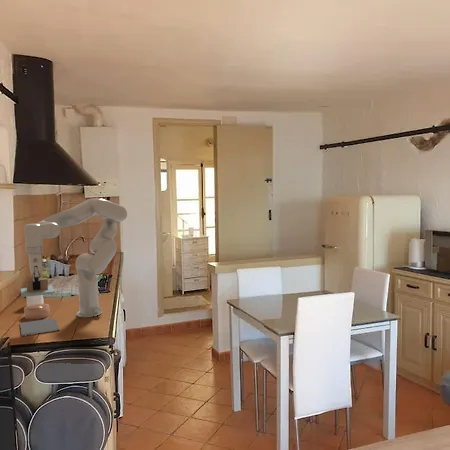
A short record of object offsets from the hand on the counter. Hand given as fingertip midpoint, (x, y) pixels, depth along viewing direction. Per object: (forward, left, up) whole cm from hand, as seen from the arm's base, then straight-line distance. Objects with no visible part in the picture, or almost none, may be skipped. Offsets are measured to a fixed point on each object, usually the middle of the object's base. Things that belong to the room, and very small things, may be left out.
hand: (36, 288), depth 212 cm
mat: (0, 0, -19) cm, 19 cm away
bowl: (+17, -10, -19) cm, 28 cm away
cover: (0, 0, -2) cm, 2 cm away
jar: (+36, -22, -19) cm, 47 cm away
